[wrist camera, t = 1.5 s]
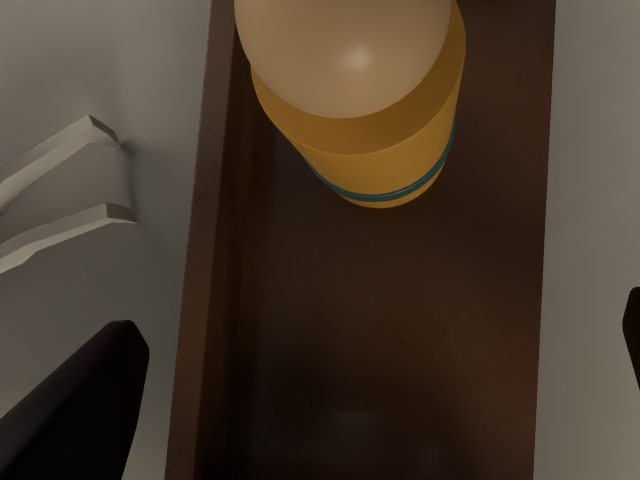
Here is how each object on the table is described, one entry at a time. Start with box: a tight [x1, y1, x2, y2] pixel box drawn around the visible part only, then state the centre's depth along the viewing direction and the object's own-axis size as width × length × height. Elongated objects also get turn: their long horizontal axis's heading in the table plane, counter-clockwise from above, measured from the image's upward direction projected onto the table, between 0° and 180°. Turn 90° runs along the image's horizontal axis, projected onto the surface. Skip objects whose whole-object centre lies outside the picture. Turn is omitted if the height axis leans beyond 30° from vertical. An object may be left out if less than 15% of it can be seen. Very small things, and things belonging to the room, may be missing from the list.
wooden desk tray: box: [164, 0, 556, 480], centre depth 19 cm, size 22×12×6 cm, turn 175°
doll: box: [234, 0, 466, 208], centre depth 14 cm, size 5×5×12 cm
